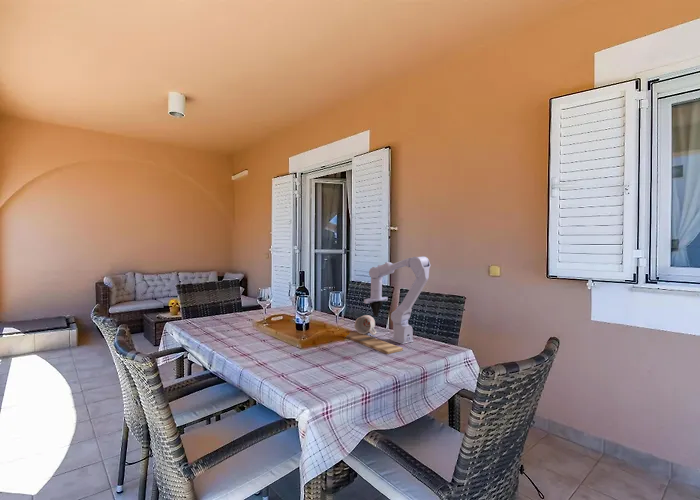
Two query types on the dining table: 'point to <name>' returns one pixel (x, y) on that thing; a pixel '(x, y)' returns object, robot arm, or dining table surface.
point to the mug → (365, 325)
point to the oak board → (381, 345)
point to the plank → (357, 336)
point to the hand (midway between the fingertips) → (375, 315)
